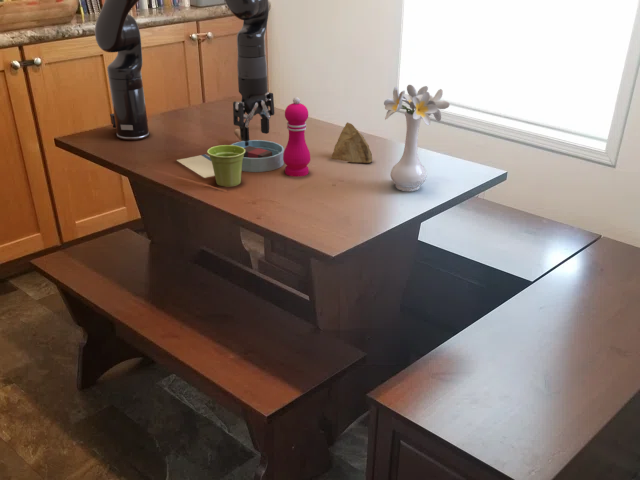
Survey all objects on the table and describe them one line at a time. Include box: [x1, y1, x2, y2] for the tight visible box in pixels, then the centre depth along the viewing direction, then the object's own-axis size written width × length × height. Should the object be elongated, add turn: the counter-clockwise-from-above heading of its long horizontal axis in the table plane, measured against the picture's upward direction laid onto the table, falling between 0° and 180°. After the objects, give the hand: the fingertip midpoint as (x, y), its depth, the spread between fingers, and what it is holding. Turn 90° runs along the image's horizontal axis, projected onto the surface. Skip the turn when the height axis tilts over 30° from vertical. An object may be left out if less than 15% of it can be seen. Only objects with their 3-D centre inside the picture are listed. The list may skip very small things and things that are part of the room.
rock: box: [331, 122, 373, 164], centre depth 191 cm, size 11×9×10 cm
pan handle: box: [233, 128, 251, 146], centre depth 197 cm, size 12×2×2 cm, turn 22°
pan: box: [230, 139, 285, 173], centre depth 188 cm, size 15×16×4 cm
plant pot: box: [206, 144, 245, 188], centre depth 174 cm, size 9×9×9 cm
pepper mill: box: [283, 96, 311, 178], centre depth 178 cm, size 7×7×20 cm
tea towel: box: [176, 153, 215, 179], centre depth 185 cm, size 16×9×1 cm, turn 37°
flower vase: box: [383, 84, 450, 193], centre depth 171 cm, size 13×18×25 cm
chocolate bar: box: [244, 146, 272, 158], centre depth 188 cm, size 8×4×3 cm, turn 58°
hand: (255, 136), depth 184 cm, fingers open, 8 cm apart
